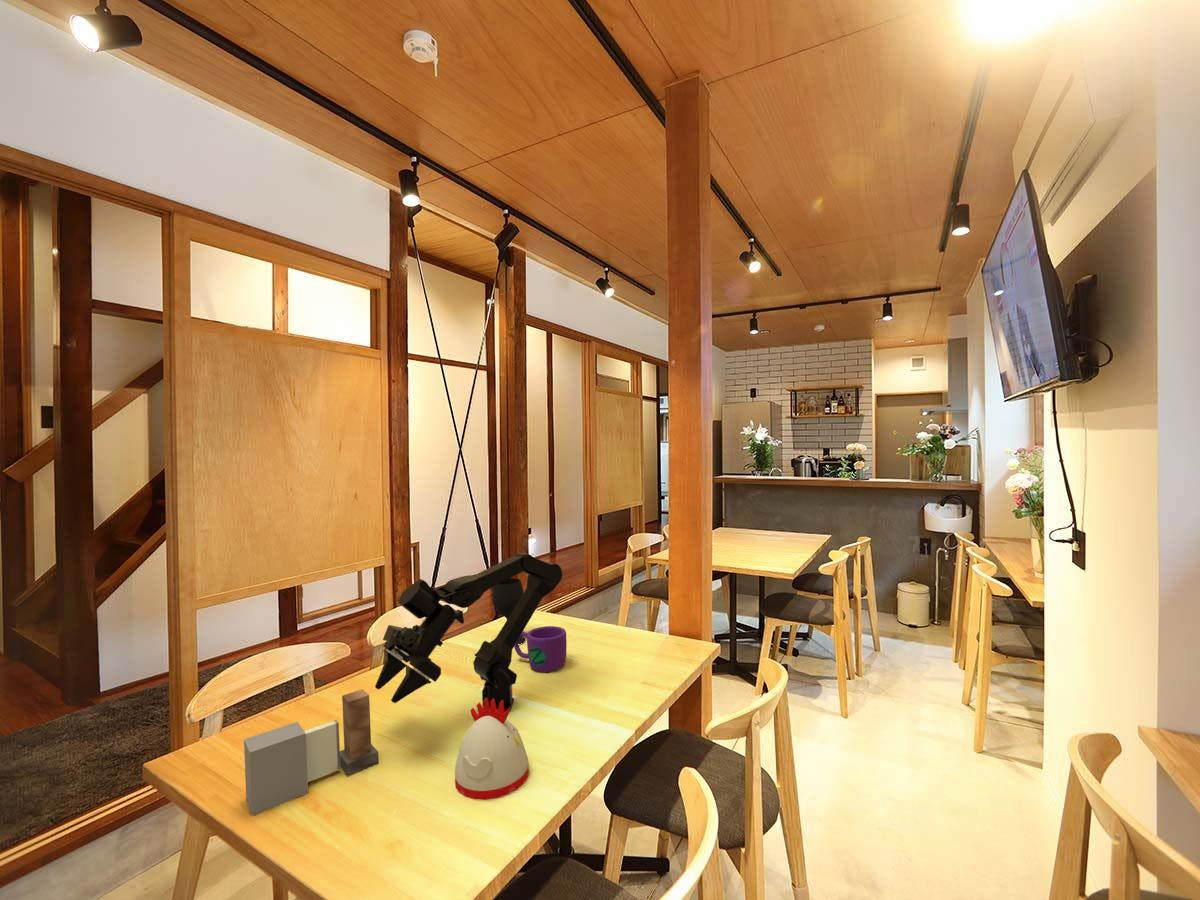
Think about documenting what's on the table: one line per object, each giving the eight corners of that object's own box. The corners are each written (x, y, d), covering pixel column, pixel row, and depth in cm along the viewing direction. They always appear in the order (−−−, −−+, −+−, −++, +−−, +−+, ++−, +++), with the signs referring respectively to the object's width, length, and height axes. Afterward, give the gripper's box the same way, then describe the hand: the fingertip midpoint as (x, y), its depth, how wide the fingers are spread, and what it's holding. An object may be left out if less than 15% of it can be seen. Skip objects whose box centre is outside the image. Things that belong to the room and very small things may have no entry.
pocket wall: (299, 778, 104) (297, 721, 104) (307, 793, 100) (305, 733, 100) (246, 799, 98) (243, 739, 98) (252, 816, 94) (249, 752, 94)
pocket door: (338, 765, 107) (336, 719, 107) (340, 768, 106) (338, 722, 106) (293, 783, 101) (291, 735, 101) (295, 787, 100) (293, 738, 100)
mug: (574, 661, 157) (573, 628, 157) (554, 677, 147) (552, 641, 147) (525, 654, 165) (524, 621, 165) (503, 668, 155) (501, 633, 155)
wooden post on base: (368, 752, 113) (365, 686, 113) (378, 763, 108) (375, 694, 108) (338, 764, 109) (335, 695, 109) (347, 776, 104) (344, 705, 104)
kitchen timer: (509, 805, 94) (505, 720, 94) (440, 794, 98) (437, 712, 98) (539, 760, 108) (536, 685, 108) (477, 752, 111) (474, 680, 111)
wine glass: (511, 649, 169) (508, 586, 169) (486, 644, 174) (484, 583, 174) (532, 639, 177) (529, 579, 177) (508, 634, 183) (506, 576, 183)
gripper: (390, 602, 123) (341, 664, 116) (424, 618, 109) (371, 690, 102) (424, 627, 128) (379, 688, 121) (461, 647, 114) (412, 717, 107)
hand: (384, 695), depth 113 cm, fingers open, 9 cm apart
